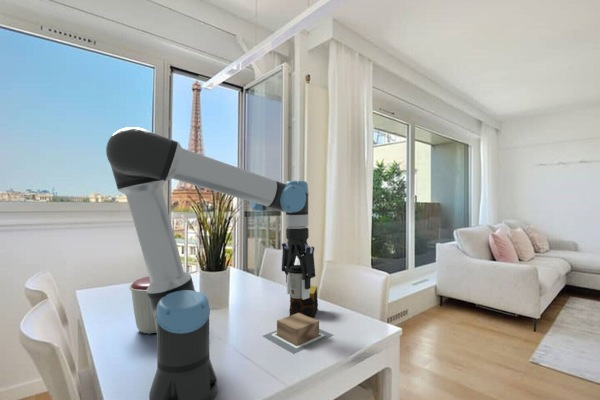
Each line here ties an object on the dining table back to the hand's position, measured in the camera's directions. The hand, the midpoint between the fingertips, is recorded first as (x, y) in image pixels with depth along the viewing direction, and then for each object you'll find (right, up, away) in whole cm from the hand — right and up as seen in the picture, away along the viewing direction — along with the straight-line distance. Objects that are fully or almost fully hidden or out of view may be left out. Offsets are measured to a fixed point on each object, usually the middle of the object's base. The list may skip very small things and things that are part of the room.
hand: (298, 295), depth 103 cm
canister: (-51, -15, +8) cm, 53 cm away
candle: (+2, -14, +21) cm, 26 cm away
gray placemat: (0, -14, 0) cm, 14 cm away
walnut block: (0, -13, 0) cm, 13 cm away
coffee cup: (0, 0, 0) cm, 0 cm away
